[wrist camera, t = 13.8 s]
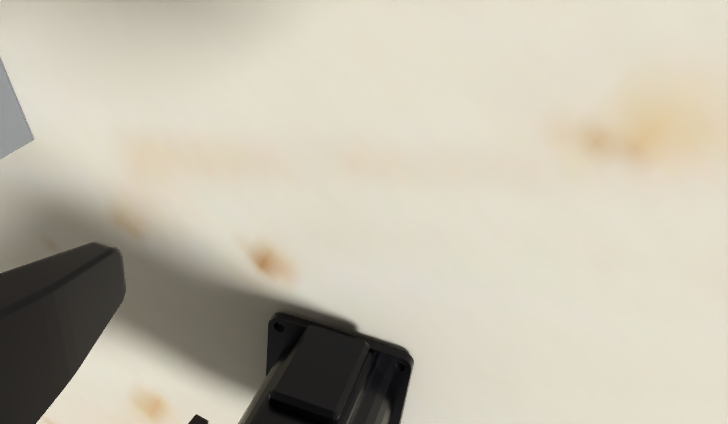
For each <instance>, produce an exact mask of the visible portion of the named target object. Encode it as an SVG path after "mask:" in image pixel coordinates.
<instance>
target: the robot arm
mask: <svg viewBox="0 0 728 424" xmlns="http://www.w3.org/2000/svg"><path fill="white" fill-rule="evenodd" d="M125 291H126V283H125V274H124V266H123V258H122V253H121V252H120V250H119V249H117V248H116V247H113V246H110V245H106V244H103V243H100V242H92V243H89V244H86V245H83V246H80V247H77V248H74V249H71V250H68V251H65V252H62V253H59V254H56V255H53V256H50V257H47V258H44V259H42V260H39V261H36V262H33V263H30V264H27V265H24V266H21V267H18V268H15V269H12V270H9V271H6V272H3V273H0V424H36V423H37V421H38V420H39V419H40V418H41V416H42V415H43V414H44V413H45V412H46V410H47V409H48V408H49V407H50V405H51V404H52V403H53V402H54V400H55V399H56V398H57V397H58V395H59V394H60V393H61V392H62V390H63V389H64V388H65V387H66V385H67V384H68V383H69V381H70V380H71V379H72V377H73V376H74V374H75V373H76V372H77V370H78V369H79V367H80V366H81V364H82V363H83V361H84V360H85V358H86V357H87V355H88V354H89V352H90V350H91V349H92V347H93V346H94V344H95V343H96V341H97V340H98V338H99V337H100V335H101V334H102V332H103V330H104V329H105V327H106V326H107V324H108V323H109V321H110V320H111V318H112V317H113V315H114V314H115V312H116V310H117V309H118V307H119V306H120V304H121V303H122V301H123V298H124V296H125ZM279 323H280V324H282V325H283V326H282V325H280V324H279ZM399 362H401V363H403V364H404V365H403V364H400V363H399ZM413 365H414V360H413V358H412V357H411V356H410V355H409V354H408V353H406V352H403V351H400V350H397V349H394V348H391V347H388V346H385V345H382V344H378V343H375V342H372V341H369V340H366V339H363V338H360V337H357V336H353V335H350V334H347V333H344V332H341V331H338V330H335V329H332V328H328V327H325V326H322V325H319V324H316V323H313V322H310V321H307V320H303V319H300V318H297V317H294V316H291V315H288V314H285V313H280V312H279V313H275V314H274V315H273V316H272V318H271V319H270V321H269V324H268V347H267V370H266V379H265V380H264V382H263V383H262V385H261V387H260V388H259V390H258V392H257V393H256V395H255V397H254V398H253V400H252V402H251V403H250V405H249V406H248V408H247V410H246V411H245V413H244V415H243V416H242V418H241V420H240V421H239V423H238V424H400V423H401V418H402V414H403V410H404V405H405V401H406V396H407V392H408V387H409V383H410V378H411V374H412V370H413ZM188 424H208V420H206V419H204V418H202V417H201V416H199V415H197V414H196V415H195V416H194V417H193V419H192V420H191V421H190V422H189V423H188Z"/></svg>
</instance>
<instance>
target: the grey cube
mask: <svg viewBox="0 0 728 424" xmlns="http://www.w3.org/2000/svg"><path fill="white" fill-rule="evenodd" d="M33 140H34V138H33V136H32V134H31V131H30V129H29V126H28V124H27V122H26V119H25V117H24V114H23V112H22V110H21V107H20V105H19V102H18V100H17V98H16V95H15V93H14V90H13V88H12V86H11V83H10V81H9V78H8V76H7V74H6V71H5V69H4V66H3V64H2V62H1V59H0V159H1V158H3V157H5V156H6V155H8V154H10V153H12V152H13V151H15V150H17V149H19V148H20V147H22V146H24V145H26V144H27V143H29V142H31V141H33Z"/></svg>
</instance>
